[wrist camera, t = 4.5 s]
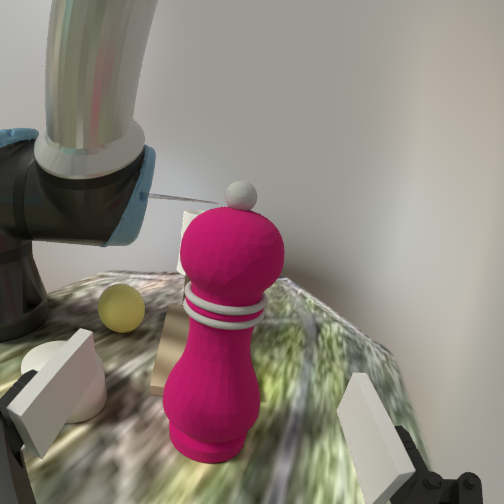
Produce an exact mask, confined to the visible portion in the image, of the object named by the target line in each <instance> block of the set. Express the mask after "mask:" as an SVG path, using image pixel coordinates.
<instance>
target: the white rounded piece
mask: <svg viewBox="0 0 504 504" xmlns="http://www.w3.org/2000/svg"><path fill="white" fill-rule="evenodd" d="M66 342H67V341H53V342H48V343H44V344H41V345H39V346H37V347H35V348H33V349H32V350H31V351H29V352H28V353H27V354H26V356H25V357H24V359H23V361H22V364H21V372H22V375H23V374H24V373H26V372H28V371H30V370H32V369H34V370H36V371H38V372H39V371H40V370H41V369H42V367H43V366H44V365H45V364H46V363H47V362H48V361H49V360H50V359H51V358H52V357H53V356H54V355H55V354H56V353H57V352H58V351H59V349H60V348H61V347H62V346H63V345H64V344H65V343H66ZM95 357H96V364H97V372H98V374H97V376H96V377H95V379H94V380H93V382H92V383H91V385H90V386H89V387H88V389H87V390H86V392H85V393H84V395H83V396H82V398H81V399H80V401H79V402H78V404H77V405H76V407H75V408H74V410H73V411H72V413H71V415H70V416H69V418H68V419H67V421H66V422H65V423H78V422H82V421H86V420H88V419H90V418H92V417H94V416H95V415H97V414H98V413H99V412H100V411H101V410H102V409H103V407H104V405H105V403H106V400H107V389H106V382H105V375H104V367H103V362H102V359H101V357H100V356H99V355H98V354H97V352H96V351H95Z"/></svg>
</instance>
